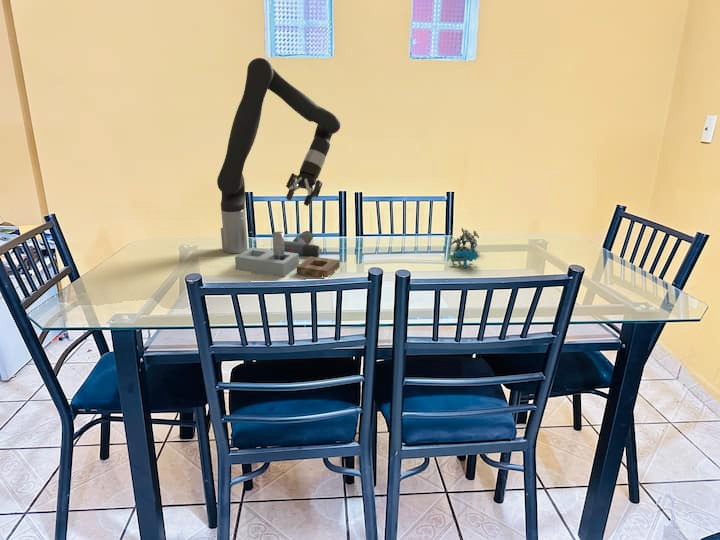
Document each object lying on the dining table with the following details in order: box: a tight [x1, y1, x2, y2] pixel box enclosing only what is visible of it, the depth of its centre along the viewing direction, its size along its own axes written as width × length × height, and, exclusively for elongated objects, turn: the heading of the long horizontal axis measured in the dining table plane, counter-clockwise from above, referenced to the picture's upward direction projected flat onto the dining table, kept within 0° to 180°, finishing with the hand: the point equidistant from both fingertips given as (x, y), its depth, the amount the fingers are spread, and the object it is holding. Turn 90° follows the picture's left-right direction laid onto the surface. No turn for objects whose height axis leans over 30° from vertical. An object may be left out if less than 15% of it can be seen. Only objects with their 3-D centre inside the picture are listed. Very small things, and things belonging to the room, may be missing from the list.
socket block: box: [296, 255, 341, 278], centre depth 181 cm, size 12×12×3 cm
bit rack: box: [234, 246, 300, 278], centre depth 183 cm, size 20×12×5 cm, turn 71°
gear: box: [448, 248, 479, 269], centre depth 189 cm, size 11×6×10 cm
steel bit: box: [272, 231, 285, 260], centre depth 180 cm, size 4×4×14 cm
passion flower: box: [450, 227, 480, 252], centre depth 206 cm, size 11×11×12 cm
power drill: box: [284, 230, 323, 257], centre depth 205 cm, size 5×19×20 cm
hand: (297, 202), depth 188 cm, fingers open, 8 cm apart
